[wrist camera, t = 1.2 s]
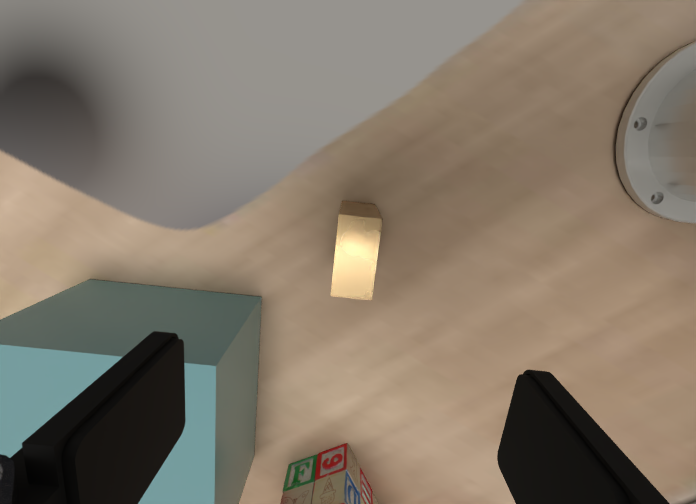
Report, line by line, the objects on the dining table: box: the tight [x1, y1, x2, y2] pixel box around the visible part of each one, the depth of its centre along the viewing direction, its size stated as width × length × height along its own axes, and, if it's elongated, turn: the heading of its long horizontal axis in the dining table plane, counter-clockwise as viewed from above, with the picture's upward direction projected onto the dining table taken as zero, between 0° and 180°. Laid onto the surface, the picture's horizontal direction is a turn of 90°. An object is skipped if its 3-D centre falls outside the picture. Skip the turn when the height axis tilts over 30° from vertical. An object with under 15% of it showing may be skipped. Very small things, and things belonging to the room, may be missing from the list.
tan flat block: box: [331, 201, 382, 300], centre depth 24 cm, size 2×5×7 cm, turn 174°
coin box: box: [0, 279, 262, 504], centre depth 26 cm, size 14×16×10 cm
